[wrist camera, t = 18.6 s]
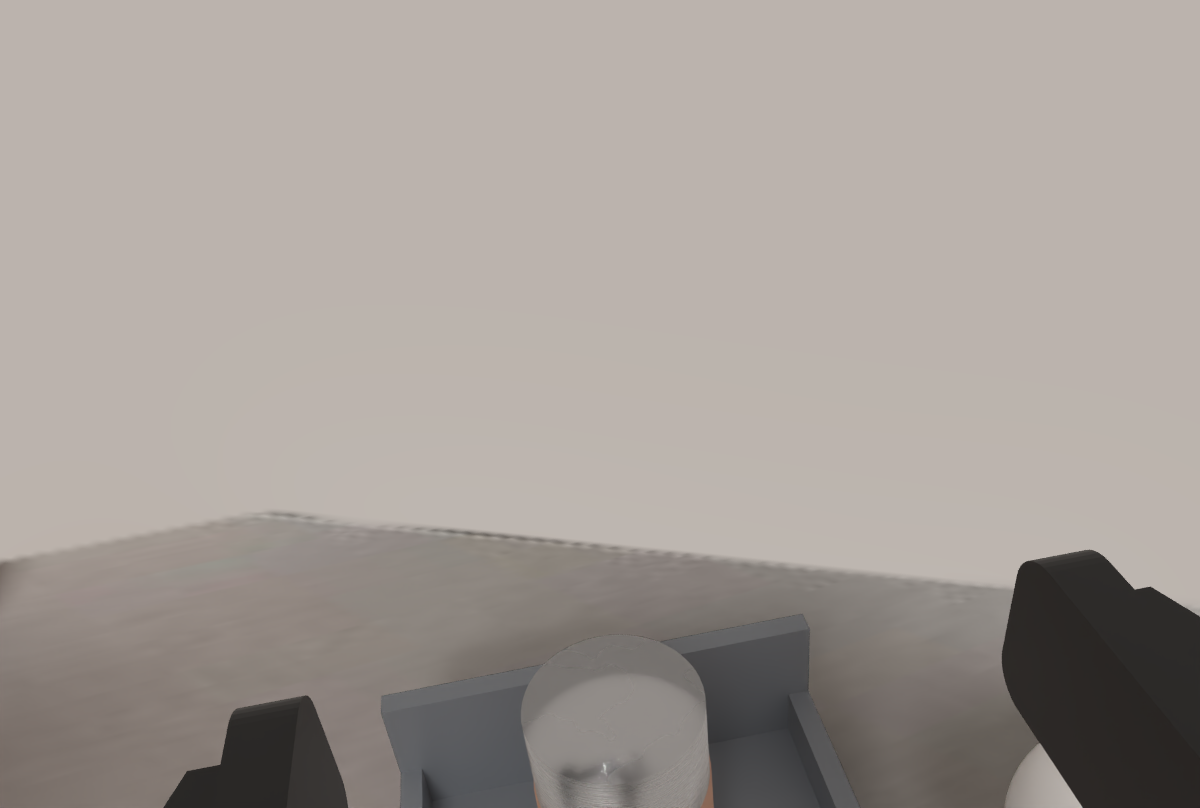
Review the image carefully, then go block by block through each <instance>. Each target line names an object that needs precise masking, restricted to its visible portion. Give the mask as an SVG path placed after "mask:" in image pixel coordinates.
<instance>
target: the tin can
mask: <svg viewBox="0 0 1200 808" xmlns="http://www.w3.org/2000/svg"><path fill="white" fill-rule="evenodd" d="M521 723H522V729H523V733H524V738H525V743H526V747H527V752H528V757H529V761H530V766H531V770H532V775H533V780H534V792H535V797H536V802H537V806H538V808H714V804H713V787H712V770H711V761H710V756H709V748H708V731H707V714H706V698H705V692H704V687H703V684H702V682H701V680H700V677H699V675H698V674H697V672H696V670H695V669H694V668H693V666H692V665H691V664H690V663H689V662H688V661H687V660H686V659H685V658H684V657H683V656H682V655H681V654H680V653H678V652H677V651H675V650H674V649H672V648H671V647H669V646H667V645H665V644H663V643H660V642H658V641H655V640H652V639H649V638H645V637H640V636H634V635H606V636H599V637H594V638H590V639H587V640H584V641H581V642H578V643H576V644H573V645H571V646H569V647H567V648H565V649H564V650H562V651H560V652H558V653H557V654H556V655H554V656H553V657H552V658H550V659H549V660H548V661H547V662H546V663H545V664H544V665H543V666H542V667H541V668H540V669H539V670H538V671H537V672H536V674H535V675H534V676H533V678H532V680H531V681H530V683H529V685H528V687H527V689H526V691H525V694H524V697H523V701H522V707H521Z"/></svg>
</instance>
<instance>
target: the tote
mask: <svg viewBox="0 0 1200 808" xmlns="http://www.w3.org/2000/svg"><path fill="white" fill-rule="evenodd" d="M809 638H810V628H809V626H808V624H807V622H806V620H805V618H804V616H803V614H799V615H794V616H789V617H784V618H778V619H773V620H768V621H763V622H758V623H753V624H748V625H743V626H738V627H732V628H727V629H722V630H717V631H712V632H707V633H702V634H697V635H691V636H686V637H681V638H676V639H671V640H666V641H661V642H660V643H663V644H665V645H667V646H669V647H671V648H672V649H674V650H675V651H677V652H678V653H680V654H681V655H682V656H683V657H684V658H685V659H686V660H687V661H688V662H689V663H690V664H691V665H692V666H693V668H694V669H695V670H696V672H697V674H698V675H699V677H700V680H701V682H702V684H703V687H704V692H705V698H706V714H707V731H708V748H709V756H710V761H711V770H712V787H713V804H714V808H860V806H859V804H858V801H857V799H856V797H855V795H854V792H853V790H852V788H851V786H850V783H849V781H848V779H847V777H846V774H845V772H844V770H843V768H842V765H841V763H840V761H839V759H838V756H837V754H836V752H835V750H834V747H833V745H832V743H831V741H830V738H829V736H828V734H827V732H826V729H825V727H824V725H823V723H822V720H821V718H820V716H819V714H818V711H817V709H816V707H815V705H814V702H813V700H812V698H811V696H810V693H809V691H808V678H809ZM543 665H544V664H543ZM543 665H538V666H533V667H528V668H523V669H517V670H512V671H507V672H502V673H497V674H492V675H487V676H482V677H476V678H471V679H466V680H461V681H456V682H451V683H446V684H441V685H435V686H430V687H425V688H420V689H415V690H410V691H405V692H400V693H395V694H389V695H384V696H382V699H381V715H382V718H383V721H384V724H385V727H386V730H387V733H388V736H389V739H390V742H391V745H392V748H393V751H394V754H395V757H396V760H397V763H398V766H399V769H400V772H401V802H400V808H538V806H537V802H536V797H535V792H534V780H533V775H532V770H531V766H530V761H529V757H528V752H527V747H526V743H525V738H524V733H523V729H522V723H521V707H522V701H523V697H524V694H525V691H526V689H527V687H528V685H529V683H530V681H531V680H532V678H533V676H534V675H535V674H536V672H537V671H538V670H539V669H540V668H541V667H542V666H543Z"/></svg>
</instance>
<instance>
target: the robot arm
mask: <svg viewBox="0 0 1200 808" xmlns="http://www.w3.org/2000/svg"><path fill="white" fill-rule="evenodd" d="M1002 668H1003V673H1004V678H1005V682H1006V685H1007V688H1008V691H1009V693H1010V696H1011V698H1012V700H1013V702H1014V704H1015V706H1016V707H1017V709H1018V711H1019V712H1020V714H1021V715H1022V717H1023V718H1024V720H1025V721H1026V723H1027V724H1028V726H1029V727H1030V729H1031V730H1032V732H1033V733H1034V735H1035V736H1036V738H1037V739H1038V741H1039V743H1040V744H1041V746H1042V747H1043V749H1044V750H1045V752H1046V753H1047V755H1048V756H1049V758H1050V759H1051V761H1052V762H1053V764H1054V765H1055V767H1056V768H1057V770H1058V771H1059V773H1060V774H1061V776H1062V777H1063V779H1064V780H1065V782H1066V783H1067V785H1068V786H1069V788H1070V789H1071V791H1072V792H1073V794H1074V795H1075V797H1076V798H1077V800H1078V801H1079V803H1080V804H1081V806H1082V807H1083V808H1200V617H1199V616H1198V615H1196V614H1195V613H1193V612H1191V611H1190V610H1188V609H1186V608H1185V607H1183V606H1181V605H1180V604H1178V603H1177V602H1175V601H1173V600H1172V599H1170V598H1168V597H1167V596H1165V595H1163V594H1162V593H1160V592H1158V591H1157V590H1155V589H1153V588H1151V587H1146V588H1142V589H1136V590H1134V589H1133V587H1132V586H1131V585H1130V584H1129V583H1128V582H1127V581H1126V580H1125V579H1124V578H1123V576H1122V575H1121V574H1120V573H1119V572H1118V571H1117V570H1116V569H1115V568H1114V567H1113V565H1112V564H1111V563H1110V562H1109V561H1108V560H1107V559H1106V558H1105V557H1104V556H1102V555H1101V554H1100V553H1098V552H1096V551H1093V550H1084V551H1079V552H1074V553H1069V554H1063V555H1058V556H1053V557H1047V558H1042V559H1037V560H1032V561H1027V562H1025V563H1023V564H1022V565H1021V567H1020V568H1019V570H1018V574H1017V578H1016V583H1015V588H1014V594H1013V599H1012V604H1011V609H1010V614H1009V619H1008V624H1007V630H1006V635H1005V640H1004V645H1003V650H1002ZM164 808H348V804H347V797H346V792H345V788H344V784H343V781H342V778H341V775H340V773H339V770H338V767H337V765H336V762H335V759H334V757H333V754H332V752H331V749H330V746H329V744H328V741H327V738H326V736H325V733H324V730H323V728H322V725H321V722H320V720H319V717H318V715H317V712H316V709H315V707H314V704H313V702H312V701H311V699H310V698H309V697H308V696H301V697H296V698H291V699H285V700H280V701H275V702H269V703H264V704H259V705H254V706H248V707H243V708H238V709H236V710H235V711H234V712H233V713H232V715H231V718H230V720H229V724H228V729H227V734H226V739H225V744H224V749H223V755H222V760H221V765H217V766H212V767H207V768H201V769H196V770H191V771H187V772H186V774H185V775H184V777H183V778H182V780H181V781H180V783H179V784H178V786H177V788H176V789H175V791H174V792H173V794H172V795H171V797H170V798H169V800H168V801H167V803H166V804H165V806H164Z"/></svg>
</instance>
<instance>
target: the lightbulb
mask: <svg viewBox="0 0 1200 808" xmlns="http://www.w3.org/2000/svg"><path fill="white" fill-rule="evenodd" d="M1004 808H1083V807H1082V806H1081V804H1080V803H1079V801H1078V800H1077V798H1076V797H1075V795H1074V794H1073V792H1072V791H1071V789H1070V788H1069V786H1068V785H1067V783H1066V782H1065V780H1064V779H1063V777H1062V776H1061V774H1060V773H1059V771H1058V770H1057V768H1056V767H1055V765H1054V764H1053V762H1052V761H1051V759H1050V758H1049V756H1048V755H1047V753H1046V752H1045V750H1044V749H1043V747H1042V746H1041V744H1040V743H1038V744H1037V745H1036V746H1035V747H1034V748H1033V749H1032V750H1031V751H1030V752H1029V753H1028V754H1027V755H1026V757H1025V758H1024V759H1023V761H1022V762H1021V763H1020V765H1019V767H1018V768H1017V770H1016V772H1015V774H1014V776H1013V778H1012V780H1011V783H1010V785H1009V788H1008V791H1007V795H1006V799H1005V805H1004Z"/></svg>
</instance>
